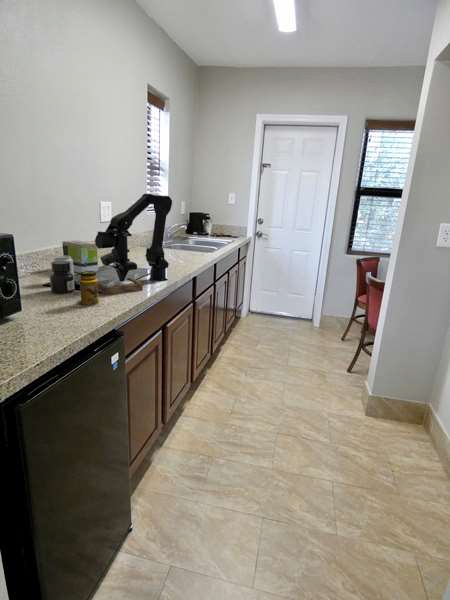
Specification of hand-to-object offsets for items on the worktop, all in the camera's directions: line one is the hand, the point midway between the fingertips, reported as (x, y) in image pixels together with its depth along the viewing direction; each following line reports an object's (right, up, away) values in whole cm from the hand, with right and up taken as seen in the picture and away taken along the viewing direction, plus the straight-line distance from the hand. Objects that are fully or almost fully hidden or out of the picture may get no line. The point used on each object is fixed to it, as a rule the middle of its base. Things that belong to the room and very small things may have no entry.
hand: (121, 282), depth 154 cm
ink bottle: (-20, -4, -11) cm, 24 cm away
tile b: (-9, -1, +1) cm, 10 cm away
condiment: (-5, -9, -25) cm, 27 cm away
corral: (0, -3, -4) cm, 5 cm away
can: (-25, 0, +1) cm, 25 cm away
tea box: (-29, +7, +26) cm, 39 cm away
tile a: (+3, -3, -1) cm, 4 cm away
